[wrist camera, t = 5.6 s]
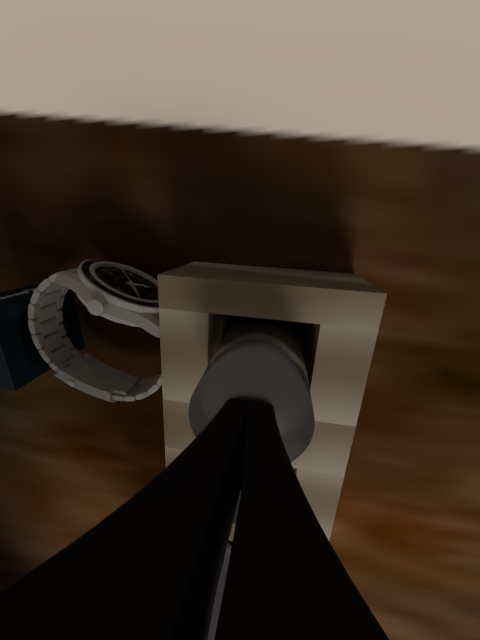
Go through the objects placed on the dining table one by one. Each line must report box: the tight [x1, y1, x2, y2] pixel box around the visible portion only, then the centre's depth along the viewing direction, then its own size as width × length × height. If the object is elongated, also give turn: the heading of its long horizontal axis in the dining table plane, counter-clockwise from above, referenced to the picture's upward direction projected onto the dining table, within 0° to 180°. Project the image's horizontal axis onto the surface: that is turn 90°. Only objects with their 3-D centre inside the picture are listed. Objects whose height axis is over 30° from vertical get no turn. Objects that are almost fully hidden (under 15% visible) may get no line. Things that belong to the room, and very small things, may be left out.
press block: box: [157, 262, 387, 541], centre depth 15 cm, size 15×9×5 cm, turn 177°
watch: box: [0, 259, 162, 403], centre depth 15 cm, size 6×8×11 cm
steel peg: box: [188, 317, 315, 462], centre depth 11 cm, size 4×4×5 cm
